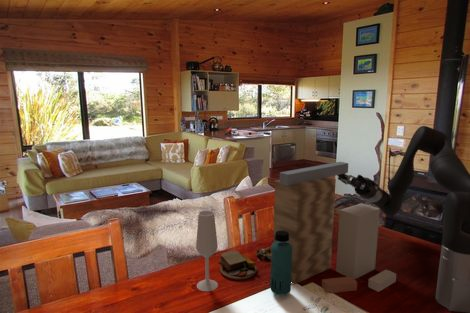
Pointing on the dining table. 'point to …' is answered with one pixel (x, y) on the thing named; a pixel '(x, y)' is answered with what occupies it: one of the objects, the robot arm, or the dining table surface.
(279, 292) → the beverage bottle
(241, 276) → the toy sandwich meal
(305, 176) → the gray bar
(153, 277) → the dining table surface
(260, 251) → the pastry
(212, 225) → the champagne flute
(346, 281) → the brown rectangular block
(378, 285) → the beige rectangular block
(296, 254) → the oak stand
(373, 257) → the cream stand
